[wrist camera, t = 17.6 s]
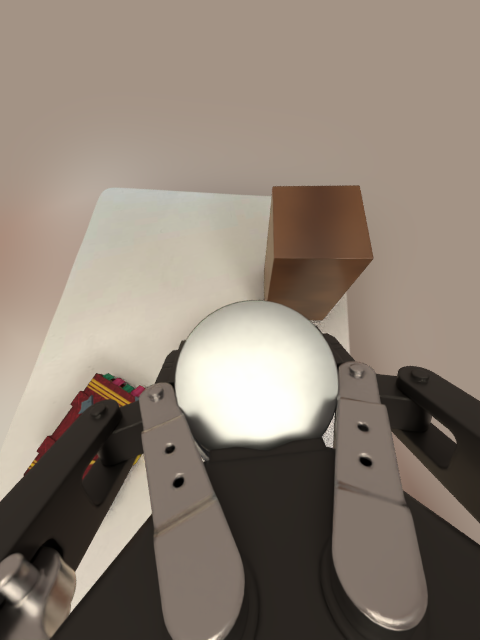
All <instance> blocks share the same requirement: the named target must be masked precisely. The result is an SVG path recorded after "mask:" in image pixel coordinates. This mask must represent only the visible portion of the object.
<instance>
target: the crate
mask: <svg viewBox="0 0 480 640" xmlns="http://www.w3.org/2000/svg"><path fill="white" fill-rule="evenodd" d="M372 260H373V253H372V248H371V243H370V238H369V232H368V227H367V222H366V216H365V211H364V206H363V201H362V196H361V190H360V186H277V187H276V186H275V187H273V188H272V197H271V207H270V217H269V227H268V237H267V247H266V258H265V268H264V301H270V302H274V303H278V304H282V305H284V306H287V307H289V308H291V309H293V310H295V311H297V312H298V313H300V314H301V315H303V316H304V317H306V318H307V319H308V320H323V319H324V318H325V317H326V315H327V314H328V313H329V312H330V311H331V309H332V308H333V307H334V306H335V305H336V303H337V302H338V301H339V300H340V298H341V297H342V296H343V295H344V294H345V292H346V291H347V290H348V289H349V288H350V286H351V285H352V284H353V283H354V282H355V280H356V279H357V278H358V277H359V276H360V274H361V273H362V272H363V271H364V270H365V268H366V267H367V266H368V265H369V263H370V262H371V261H372Z"/></svg>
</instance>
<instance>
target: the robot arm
mask: <svg viewBox="0 0 480 640" xmlns="http://www.w3.org/2000/svg"><path fill="white" fill-rule="evenodd" d="M316 328H317V329H318V327H317V326H316ZM318 330H319V329H318ZM319 331H320V330H319ZM320 332H321V331H320ZM321 333H322V332H321ZM322 335H323V336H324V338H325V339H326V341H327V342H328V344H329V346H330V348H331V350H332V353H333V356H334V358H335V361H336V365H337V370H338V377H339V392H338V395H337V406H336V410H335V421H334V439H333V448H330V447H326V446H325V443H324V441H323V439H322V437H321V438H312V439H303V440H294V441H292V442H289V443H286V444H284V445H281V446H278V447H276V448H273V449H270V450H258V449H250V448H243V447H231V448H222V449H213V450H210V454H209V460H207V461H205V462H202V459H201V456H200V454H199V451H198V449H197V446H196V443H195V441H194V438H193V436H192V433H191V431H190V428H189V425H188V423H187V420H186V418H185V415H184V413H182V410H181V408H180V406H178V405H177V400H176V396H175V371H176V365H177V361H178V358H179V354H180V352H181V350H182V347H183V345H184V343H185V341H186V340H184V341H181V344H180V346H179V349H178V350H174V351H172V352H171V353H170V354H169V355H168V356H167V357H166V359H165V362H164V364H163V366H162V369H161V371H160V373H159V375H158V377H157V380H156V382H155V384H154V385H151V386H149V387H148V388H146V389H145V390H144V391H143V392H142V393H141V394H140V396H139V400H138V401H136V402H133V403H130V404H127V405H124V406H121V407H119V405H118V403H117V401H115V400H113V399H107V400H102V401H99V402H97V403H95V404H93V405H91V406H90V407H88V408H87V409H86V410H85V411H84V412H83V413H82V414H81V415H80V416H79V417H78V418H77V419H76V420H75V421H74V423H73V424H72V425H71V426H70V427H69V428H68V429H67V430H66V431H65V432H64V433H63V434H62V436H61V437H60V438H59V439H58V440H57V441H56V442H55V443H54V444H53V445H52V446H51V447H50V449H49V450H48V451H47V452H46V453H45V454H44V455H43V456H42V457H41V458H40V459H39V460H38V462H37V463H36V464H35V465H34V466H33V467H32V468H31V469H30V470H29V471H28V472H27V473H26V474H25V476H24V477H23V478H22V479H21V480H20V481H19V482H18V483H17V484H16V485H15V486H14V487H13V489H12V490H11V491H10V492H9V493H8V494H7V495H6V496H5V497H4V498H3V499H2V500H1V502H0V640H480V545H479V544H478V543H476V542H475V541H474V540H472V539H471V538H469V537H468V536H466V535H465V534H464V533H462V532H461V531H459V530H458V529H457V528H455V527H454V526H452V525H451V524H450V523H448V522H447V521H445V520H444V519H443V518H441V517H439V516H438V515H437V514H436V513H434V512H433V511H431V510H430V509H429V508H427V507H426V506H424V505H423V504H421V503H420V502H419V501H417V500H416V499H414V498H413V497H411V496H410V495H409V494H407V493H406V492H405V491H403V489H402V485H401V479H400V474H399V469H398V464H397V459H396V453H395V449H394V444H393V438H392V433H391V431H392V432H393V433H394V434H395V435H396V436H397V438H398V439H399V440H400V441H401V442H402V443H403V444H404V445H405V446H406V447H407V448H408V449H409V450H410V451H411V452H412V453H413V454H414V455H415V456H416V457H417V458H418V459H419V460H420V461H421V463H423V465H424V466H425V467H426V468H427V469H428V470H429V471H430V472H431V473H432V474H433V475H434V476H435V477H436V478H437V479H438V480H439V481H440V482H441V483H442V484H443V485H444V487H445V488H446V489H447V490H448V491H449V492H450V493H451V494H452V495H454V497H455V498H456V499H457V500H458V501H459V502H460V503H461V504H462V505H463V506H464V507H465V508H466V509H467V510H468V511H469V513H470V514H471V515H472V516H473V517H474V518H475V519H476V520H477V521H478V522H479V523H480V401H479V400H477V399H475V398H474V397H472V396H471V395H469V394H467V393H466V392H464V391H463V390H461V389H459V388H458V387H456V386H455V385H453V384H451V383H450V382H448V381H447V380H445V379H443V378H441V377H440V376H439V375H437V374H435V373H434V372H432V371H430V370H427V369H424V368H421V367H416V366H406V367H402V368H400V369H399V371H398V375H397V376H390V375H380V374H376V373H375V371H374V369H372V368H371V367H370V366H368V365H366V364H364V363H361V362H355V360H354V359H353V358H352V357H351V356H350V355H349V353H348V352H347V351H346V350H345V349H344V348H343V346H342V345H341V344H340V343H339V342H338V341H337V339H336V338H335V337H333V336H331V335H329V334H327V333H325V334H322ZM432 416H433V417H434V418H435V419H436V420H438V421H439V422H440V423H441V424H443V425H444V426H445V427H446V428H448V429H449V430H450V431H451V432H452V434H453V435H454V436H455V439H456V441H457V444H456V443H455V442H453V441H452V440H451V439H450V438H448V437H447V436H446V435H445V434H444V433H443V432H441V431H440V430H439V429H438V428H437V427H436V426H434V425H433V424H432V423H431V419H432ZM143 453H144V458H145V465H146V473H147V480H148V487H149V494H150V501H151V508H152V514H151V515H150V517H149V518H148V519H147V520H146V522H145V523H144V524H143V525H142V526H141V528H140V529H139V530H138V531H137V533H136V534H135V535H134V536H133V537H132V539H131V540H130V541H129V542H128V544H127V545H126V546H125V547H124V548H123V550H122V551H121V552H120V553H119V555H118V556H117V557H116V558H115V559H114V561H113V562H112V563H111V564H110V566H109V567H108V568H107V569H106V570H105V572H104V573H103V574H102V575H101V577H100V578H99V579H98V580H97V581H96V583H95V584H94V585H93V586H92V588H91V589H90V590H89V591H88V592H87V594H86V595H85V596H84V597H83V599H82V600H81V601H80V602H79V603H78V605H77V606H76V607H75V608H74V609H73V611H72V612H71V613H70V610H71V601H72V599H73V596H74V593H75V589H76V575H75V571H76V570H77V568H78V566H79V564H80V562H81V560H82V558H83V557H84V555H85V553H86V551H87V549H88V547H89V545H90V544H91V542H92V540H93V538H94V536H95V534H96V532H97V531H98V529H99V527H100V525H101V523H102V521H103V519H104V518H105V516H106V514H107V512H108V510H109V508H110V506H111V505H112V503H113V501H114V499H115V497H116V495H117V493H118V492H119V490H120V488H121V486H122V484H123V482H124V480H125V479H126V477H127V475H128V473H129V471H130V469H131V467H132V466H133V464H134V462H135V460H136V458H137V456H138V455H141V454H143ZM96 454H97V455H98V458H97V460H96V461H95V463H94V464H93V465H92V467H91V468H90V470H89V471H88V473H87V474H86V476H85V477H84V478H83V474H84V472H85V470H86V468H87V467H88V465H89V464H90V463H91V461H92V460H93V458H94V457H95V456H96ZM82 478H83V480H82Z"/></svg>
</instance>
